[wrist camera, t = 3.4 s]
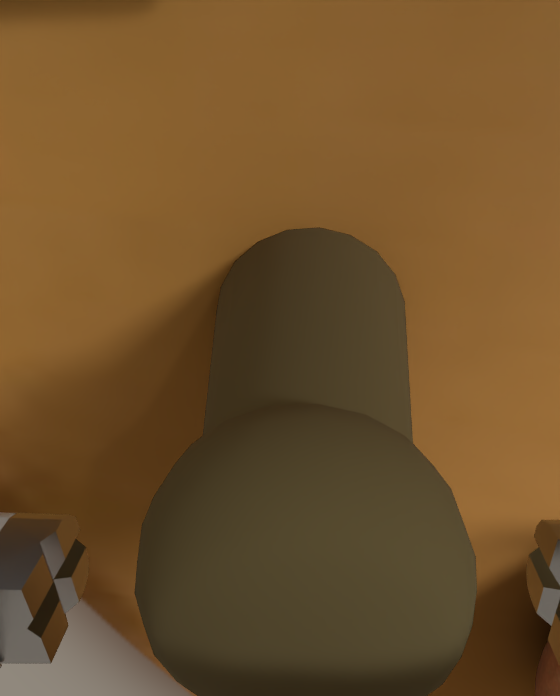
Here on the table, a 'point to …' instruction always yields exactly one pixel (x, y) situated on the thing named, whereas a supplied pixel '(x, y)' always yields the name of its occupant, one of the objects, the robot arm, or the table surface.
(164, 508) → the olive tapered rounded piece
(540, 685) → the ceramic jug
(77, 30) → the table surface
